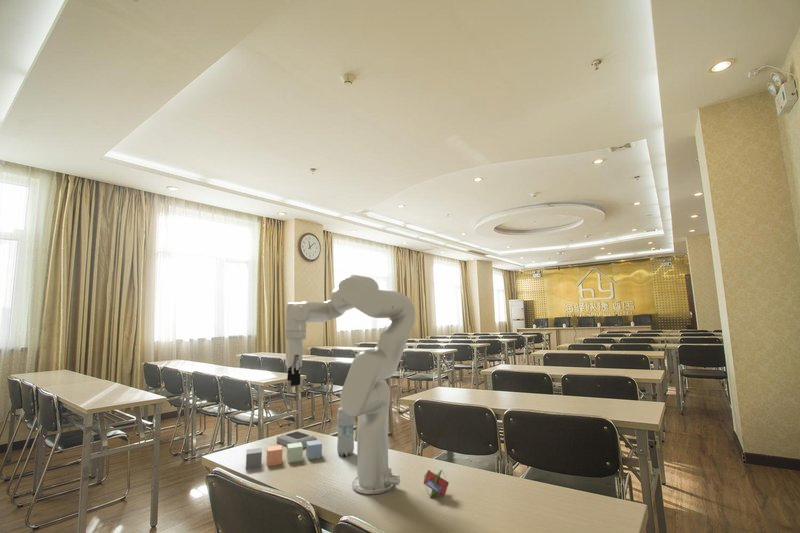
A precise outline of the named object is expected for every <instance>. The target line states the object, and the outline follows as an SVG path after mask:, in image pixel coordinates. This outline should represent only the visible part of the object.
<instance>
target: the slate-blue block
mask: <svg viewBox="0 0 800 533" xmlns="http://www.w3.org/2000/svg"><path fill="white" fill-rule="evenodd" d="M322 450H323V444H322V442H321V440H320V439H317V440H314V441H307V442H306V448H305V456H307V457H306V459H307V460H308V459H310V460H315V459H314V458H317V459H320V458H319V457H323V456H322V453H323V452H322Z"/></svg>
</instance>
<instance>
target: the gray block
mask: <svg viewBox="0 0 800 533" xmlns="http://www.w3.org/2000/svg"><path fill="white" fill-rule="evenodd" d="M262 450H263V449H262V447H257V448H248V449H246V451H245V452H246V454H245V470H250V469H249V468H252V469H256V467H258V468H262V462H263V461H262V457H263V456H262V455H263V451H262Z"/></svg>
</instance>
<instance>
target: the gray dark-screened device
mask: <svg viewBox="0 0 800 533" xmlns="http://www.w3.org/2000/svg"><path fill="white" fill-rule="evenodd" d="M314 440H318V439H317V436H314V435H311V434H308V433H305V432H302V431H299V430H295V431H291V432H288V433H285V434H281V435H279V436H277V437H276V443H277V442H278V443H277V444H279V443H280V444H279V445H281V444H282V446H284V445H285V446H284V447H287V444H292V443H300V442H301V443H302V446H303V449H306V448H305V447H306V442H307V441H314Z"/></svg>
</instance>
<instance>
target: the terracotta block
mask: <svg viewBox="0 0 800 533" xmlns="http://www.w3.org/2000/svg"><path fill="white" fill-rule="evenodd" d="M282 464H283V445H281V444H279V445H272V446H271V445H270V446H266V466H267V467H270V466H276V465H277V466H278V465H282Z"/></svg>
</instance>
